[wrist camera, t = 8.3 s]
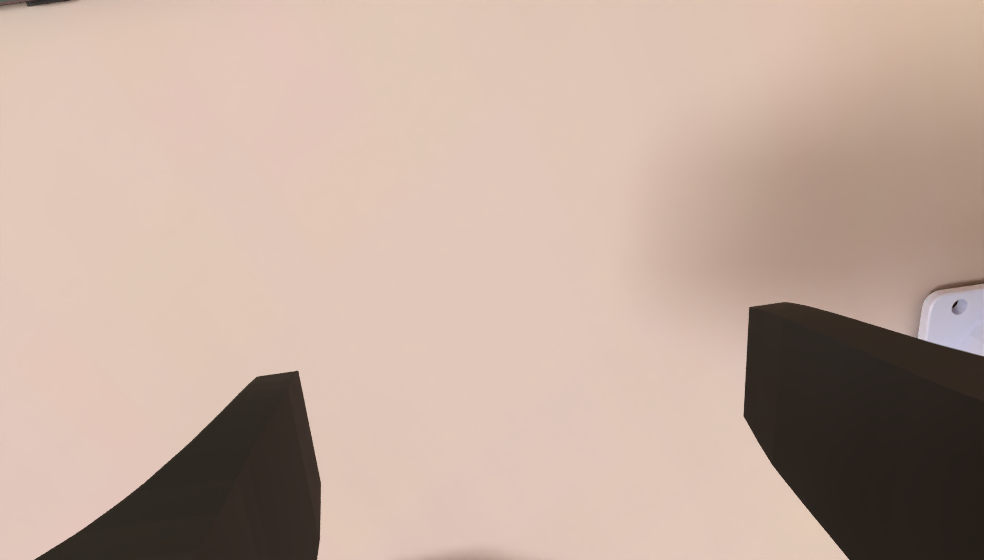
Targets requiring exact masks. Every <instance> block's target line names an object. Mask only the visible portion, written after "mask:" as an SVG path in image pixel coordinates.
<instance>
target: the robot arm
mask: <svg viewBox="0 0 984 560" xmlns="http://www.w3.org/2000/svg"><path fill="white" fill-rule="evenodd" d="M957 300H958V303H957V305H956V306H955V307H954V308H952V306H953V304H954V303H955V302H956V301H957ZM744 418H745V419H746V421H747V423H748V425H749V426H750V428H751V430H752V432H753V434H754V435H755V437H756V439H757V441H758V442H759V444H760V446H761V447H762V449H763V450H764V452H765V454H766V455H767V457H768V459H769V460H770V462H771V463H772V465H773V466H774V468H775V469H776V470H777V471H778V473H779V474H780V475H781V477H782V478H783V479H784V480H785V482H786V483H787V484H788V485H789V486H790V488H791V489H792V490H793V491H794V493H795V494H796V495H797V496H798V498H799V499H800V500H801V501H802V503H803V504H804V505H805V506H806V508H807V509H808V510H809V511H810V512H811V514H812V515H813V516H814V517H815V518H816V520H817V521H818V522H819V523H820V525H821V526H822V527H823V528H824V529H825V531H826V532H827V533H828V534H829V535H830V537H831V538H832V539H833V540H834V542H835V543H836V544H837V545H838V546H839V548H840V549H841V550H842V551H843V552H844V554H845V555H846V556H847V557H848V559H849V560H984V284H978V285H971V286H964V287H957V288H950V289H943V290H938V291H935V292H933V293H931V294H930V295H929V296H928V297H927V298H926V299H925V301H924V303H923V306H922V312H921V319H920V325H919V332H918V338H914V337H911V336H908V335H904V334H901V333H898V332H894V331H891V330H888V329H884V328H881V327H878V326H875V325H871V324H868V323H865V322H861V321H858V320H855V319H852V318H848V317H845V316H842V315H838V314H835V313H831V312H828V311H824V310H820V309H817V308H813V307H809V306H805V305H800V304H794V303H788V302H782V303H775V304H768V305H761V306H754V307H749V325H748V343H747V362H746V381H745V400H744ZM320 506H321V481H320V477H319V472H318V467H317V462H316V457H315V452H314V447H313V442H312V437H311V432H310V427H309V422H308V417H307V412H306V407H305V402H304V397H303V392H302V387H301V382H300V377H299V372H298V371H294V372H287V373H280V374H273V375H266V376H259V377H256V378H255V379H254V380H253V381H252V382H251V383H250V384H248V385H247V386H246V387H245V388H244V389H243V390H242V391H241V392H240V393H239V394H238V395H237V396H236V397H235V398H234V399H233V400H232V401H231V403H230V404H229V405H228V406H227V407H226V408H225V409H224V410H223V411H222V412H221V413H220V414H219V415H218V416H217V417H216V418H215V419H214V420H213V421H212V422H211V423H210V424H208V425H207V426H206V427H205V428H204V429H203V430H202V431H201V432H200V433H199V434H198V435H197V436H196V437H195V438H194V439H193V440H192V441H191V442H190V443H189V444H188V445H187V446H186V447H185V448H183V449H182V450H181V451H180V452H179V453H178V454H177V455H176V456H174V457H173V458H172V459H171V460H170V461H169V462H168V463H166V464H165V465H164V466H163V467H162V468H161V469H160V470H159V471H157V472H156V473H155V474H154V475H153V476H152V477H151V478H150V479H148V480H147V481H146V482H145V483H144V484H142V485H141V486H140V487H139V488H138V489H136V490H135V491H134V492H133V493H131V494H130V495H129V496H127V497H126V498H125V499H124V500H122V501H121V502H120V503H118V504H117V505H116V506H114V507H113V508H112V509H110V510H109V511H107V512H106V513H105V514H103V515H102V516H100V517H99V518H98V519H96V520H95V521H94V522H92V523H91V524H89V525H88V526H87V527H85V528H84V529H82V530H81V531H79V532H78V533H76V534H75V535H73V536H72V537H70V538H69V539H67V540H65V541H64V542H62V543H61V544H59V545H57V546H56V547H54V548H53V549H51V550H49V551H48V552H46V553H44V554H43V555H41V556H40V557H38V558H36V559H35V560H317V555H318V548H319V541H320Z"/></svg>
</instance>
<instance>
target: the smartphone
mask: <svg viewBox="0 0 984 560" xmlns="http://www.w3.org/2000/svg"><path fill="white" fill-rule="evenodd" d="M61 1H68V0H0V6H1V5H8V4H15V3H22V2H26V3H27V6H34V5H41V4H48V3H54V2H61Z"/></svg>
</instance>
